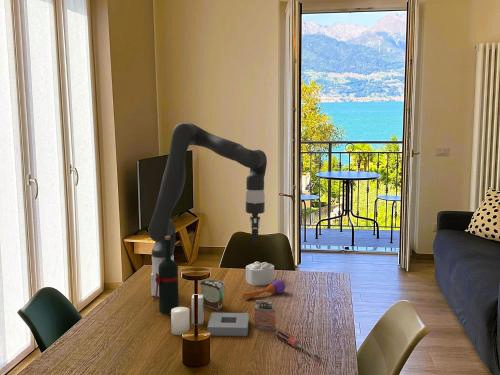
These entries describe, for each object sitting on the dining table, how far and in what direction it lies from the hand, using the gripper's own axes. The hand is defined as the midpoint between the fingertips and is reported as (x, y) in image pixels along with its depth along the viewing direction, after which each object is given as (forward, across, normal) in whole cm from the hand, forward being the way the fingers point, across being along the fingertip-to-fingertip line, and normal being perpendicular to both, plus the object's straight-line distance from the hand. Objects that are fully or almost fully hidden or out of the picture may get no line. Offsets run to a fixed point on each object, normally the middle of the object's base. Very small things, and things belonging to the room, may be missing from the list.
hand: (254, 240), depth 214 cm
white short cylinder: (+27, +26, -26) cm, 46 cm away
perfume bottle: (+27, +22, +4) cm, 35 cm away
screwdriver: (+28, +40, +14) cm, 50 cm away
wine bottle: (+27, +6, -35) cm, 45 cm away
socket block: (+27, +22, -9) cm, 36 cm away
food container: (+27, -1, -16) cm, 32 cm away
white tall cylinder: (+27, +17, -21) cm, 39 cm away
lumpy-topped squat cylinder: (+27, -33, +3) cm, 43 cm away
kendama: (+28, -13, +5) cm, 31 cm away
